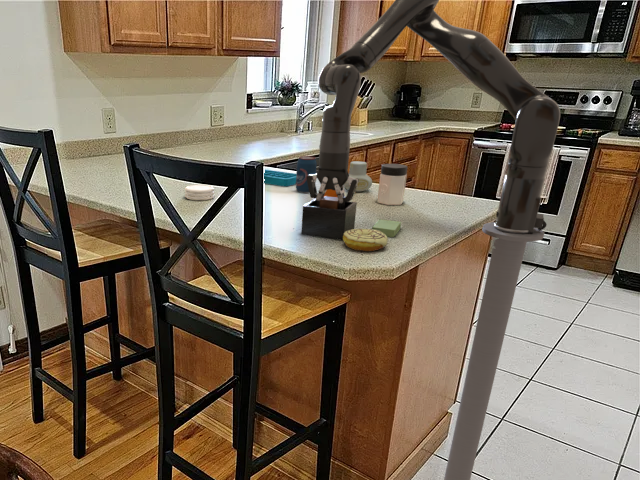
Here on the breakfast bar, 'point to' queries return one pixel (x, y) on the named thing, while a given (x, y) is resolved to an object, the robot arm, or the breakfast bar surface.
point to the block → (329, 202)
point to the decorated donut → (365, 239)
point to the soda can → (304, 172)
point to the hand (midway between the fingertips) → (329, 214)
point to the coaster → (199, 192)
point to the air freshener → (359, 176)
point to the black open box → (327, 220)
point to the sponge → (387, 227)
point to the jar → (392, 184)
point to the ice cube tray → (279, 178)
